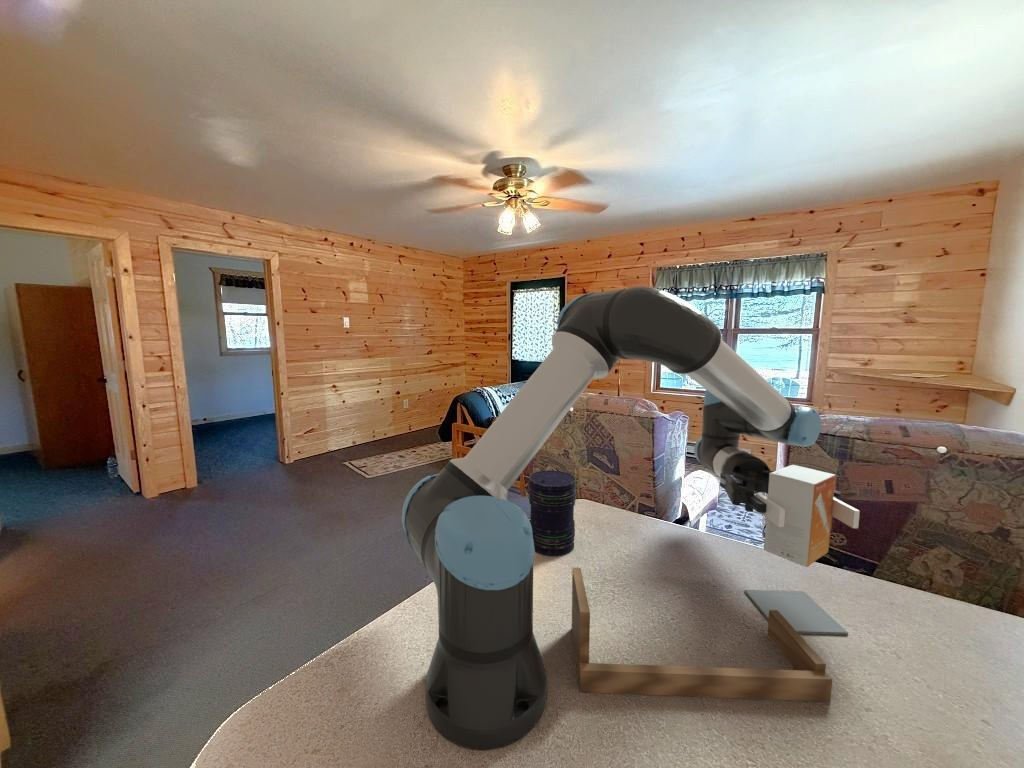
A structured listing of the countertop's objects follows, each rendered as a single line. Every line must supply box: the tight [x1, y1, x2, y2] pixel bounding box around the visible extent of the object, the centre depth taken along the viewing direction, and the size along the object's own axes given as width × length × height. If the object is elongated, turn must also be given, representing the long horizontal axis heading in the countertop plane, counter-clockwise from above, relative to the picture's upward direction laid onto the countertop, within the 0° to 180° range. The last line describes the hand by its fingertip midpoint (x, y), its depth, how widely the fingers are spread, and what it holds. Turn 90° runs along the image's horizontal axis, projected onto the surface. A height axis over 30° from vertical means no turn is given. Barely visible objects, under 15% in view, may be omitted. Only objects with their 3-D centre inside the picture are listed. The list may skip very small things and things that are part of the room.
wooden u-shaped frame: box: [571, 567, 833, 703], centre depth 55 cm, size 30×11×10 cm, turn 87°
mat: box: [744, 589, 849, 636], centre depth 66 cm, size 10×10×1 cm
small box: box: [763, 464, 837, 568], centre depth 64 cm, size 8×6×13 cm
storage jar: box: [528, 469, 577, 558], centre depth 87 cm, size 10×10×15 cm
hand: (819, 518), depth 60 cm, fingers closed on small box, 10 cm apart
